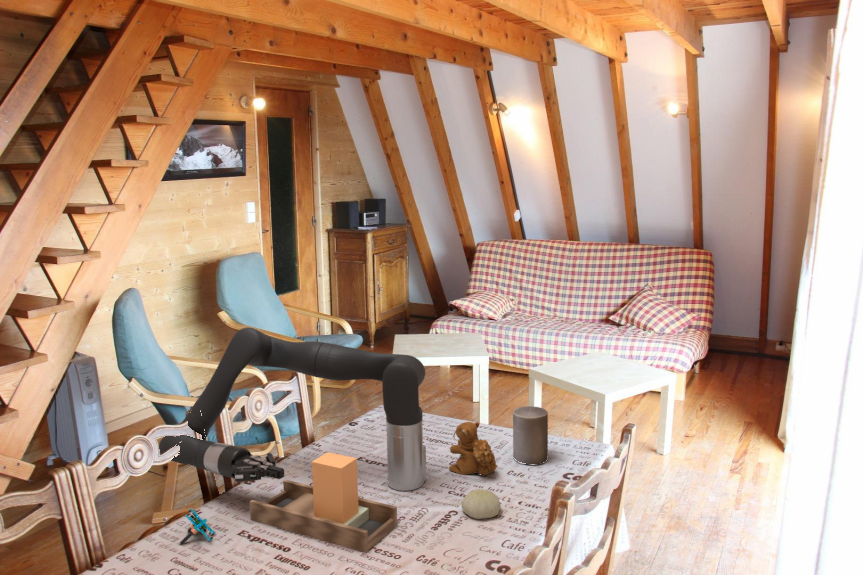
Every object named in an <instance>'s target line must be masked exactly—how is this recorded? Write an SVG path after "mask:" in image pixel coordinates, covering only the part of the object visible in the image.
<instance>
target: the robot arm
mask: <svg viewBox="0 0 863 575" xmlns="http://www.w3.org/2000/svg"><path fill="white" fill-rule="evenodd" d="M247 366H252V367H267V368H268V367H269V368H278V369H284V370H285V369H286V370H290V371H293V372H295V373H299V374H302V375H305V376H306V375H307V376H310V377H315V378H320V379H322V380H323V379H324V380H329V381H357V380H373V381H378V382H382V383H381V384H382V385H381V388H382V403H383V405H382V406H383V410H384V414H385V417H386V418H385V419H386V420H385V422H386V423H385V424H386V426H385V427H386V456H387V457H386V459H387V461H386V462H387V464H386V465H387V485H388V486H389V488H391V489H393V490H395V491H396V490H397V491H403V492H405V491H406V492H407V491H412V490H413V491H414V490H417V489H419V488H421V487H422V486H423V485H424V482H426V481H427V452H426V451H427V448H426V445H424V433H423V432H424V430H423V429H424V427H423V426H424V424H423V423H424V422H423V420H424V419H423V409H422V407H421V406H420V400H419V399H420V397H419V396H420V395H419V387H420V386H421V384H422V383H423V382H424V380H425V376H426V369H425V366H424V364H423V363H422V362H421V360H419V359H418V358H417V357H416V356H413V355H410V354H400V353H399V354H398V353H397V354H396V353H385V352H384V353H383V352H382V353H381V352H374V351H369V350H364V349H362V348H356V347H355V348H354V347H351V346H345V345H342V344H341V345H340V344H337V343H336V344H335V343H330V342H323V341H297V342H296V341H289V340H285V339H282V338H277V337H274V336H270V335H268V334H266V333H263V331H260V330H258V329H256V328H254V327H247V326H246V327H243V328H241V329H239V330H238V331H236V332H235V334H233V336H232V337H231V339H230V341H229V343H228V345H227V347H226V349H225V351H224V353H223V355H222V357H221V359H220V362H219V363H218V365H217V367H216V368H215V370H214V372H213V375H212V377H210V380H208V381H209V382H208V383H207V385H206V386H205V388H204V389H203V391H202V393H201V394H200V395H199V397H198V398H197V400H196V401H195V403H194V404H193V405H192V406H191V408H190V409H189V411H188V412H189V413H188V412H187V414H186V416H185V417H184V421H185V420H186V419H187V421H188V426H189V427H190V428H191V429H192V430H194V431H195V432H197V433H199V434H201V435H202V439H203V440H200V439H196V438H193V437H190V436H187V434H184V435H180V436H176V437H174V436H165V435H164V436H165V437H164V436H163V437H162V438H161V439H160V441H159V444H158V450H159V449H160V452H159V454H160V453H161V454H162V453H163V452H164V451H166V450H167V449H168V448H169V447H171V446H172V445H174V446H175V445H176V444H177V445H176V446H178V445H179V446H180V451H179V452H180V453H178V454H180V455H178V456H177V457H175V456H174V458H173V459H172V460H171V461H170V462H174V463H178V464H180V465H190V466H192V467H194V468H195V467H196V468H198V469H200V470H205V471H209V472H211V473H213V474H216V475H219V476H223V477H227V478H229V479H230V478H231V479H234V481H235V482H236V483H237V482H238V483H239V482H248V481H249V482H251V481H253V482H254V481H261V480H262V478H265V479H266V478H273V479H276V480H281V479H282V478H285V469H284V468H282V467H280V466H279V467H278V466H276V463H277V462H276V459H275V456H274V455H273V454H272V453H271V452H269V453H268V452H267V453H266V455H265V456H260V455H256V454H255V455H254V454H252V453H251V452H250V450H248V449H247V448H246V447H241V446H238V445H232V444H230V443H229V444H228V443H224V442H223V443H221V442H216V441H212V440H207V438H208V435H209V432H210V430H211V428H212V427H213V425H214V424H215V423H216V421H217V420H218V418H219V417H220V416H221V414H222V413H223V411H224V409H225V408H226V405H227V404H228V400H229V398H230V394H231V392H232V390H233V387H234V384H235V382H236V380H237V378H239V376H240V374H241V372H243V370H244V369H245V368H246V367H247ZM191 410H192V411H191ZM200 410H201V412H200ZM190 411H191V413H190ZM201 413H202V416H201ZM188 426H187V427H188ZM189 427H188V428H189ZM190 428H189V429H190ZM204 429H205V431H204ZM204 432H205V433H204ZM205 435H206V436H205ZM204 437H205V438H204ZM206 437H207V438H206ZM180 440H181V441H182V442H181V443H179V442H180ZM174 446H172V447H174ZM172 447H171V448H172ZM161 454H160V455H161Z"/></svg>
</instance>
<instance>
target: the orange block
mask: <svg viewBox="0 0 863 575" xmlns="http://www.w3.org/2000/svg"><path fill="white" fill-rule="evenodd" d="M311 471H312V472H311V474H312V486H313V500H314V516H316V517H319V518H323V519H327V520H330V521H334V522H338V523H342V524H344V523H345V522H347V521H348V520H349V519H351V518H352V517H353V516H354V515H356V514H357V513H358V512H359V509H358V497H359V487H358V486H359V484H358V481H359V480H358V458H356V457H352V456H348V455H343V454H338V453H333V452H330V451H329V452H328V451H327V452H326V453H324V454H322V455H321V456H319V457H318V458H315V459H314V460H312V461H311Z"/></svg>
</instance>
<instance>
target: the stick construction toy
mask: <svg viewBox="0 0 863 575" xmlns="http://www.w3.org/2000/svg"><path fill="white" fill-rule="evenodd" d="M187 512H188V513H187V514H186V515H185V518H187V520H188V521H189V522H190V523H191V525H190V526H189V527H188V529H187V532H188V534H186V536H185V537H184V538H182V539H181V540H180V542H179V544H180V545H181V546H183V545H184V544H185V543H186V542H187V541H188V540H189V539H190V538H191V537H192V536H193V535H196V534H197V533H199V532H200V533H201V534H202V535H203V536H204V537H205V538H206V539H207V540H208V541H209V542H211V541H212V540H213V539H214V537H213V536H214V535H215V534H216V531H215V530H213V528H212V527H210V525H208V524H207V522H208V519H207V518H201V517H200V515H199V514H198V513H197V512H196V511H195V510H194V509H193V508H190V509H189V510H188V511H187ZM191 512H192V514H190V513H191ZM207 531H209V533H208V535H209V536H211V537H209V536H208V535H207V533H206V532H207ZM182 544H183V545H182Z"/></svg>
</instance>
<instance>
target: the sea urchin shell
mask: <svg viewBox="0 0 863 575" xmlns="http://www.w3.org/2000/svg"><path fill="white" fill-rule="evenodd" d="M461 508H462V511H463V512H464V513H465V514H466V515H468V516H469V517H471V518H473V519H477V520H479V519H480V520H481V519H483V520H484V519H490V518H495V516H497V515H498V514H499V512H500V510H501V502H500V499H499V497H498V496H497V495H496V493H494V492H493V491H491V490H488V489H481V488H479V489H475V490H472V491H470V492H468V494H466V495H465V496H464V497H463V499H462V500H461Z"/></svg>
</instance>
